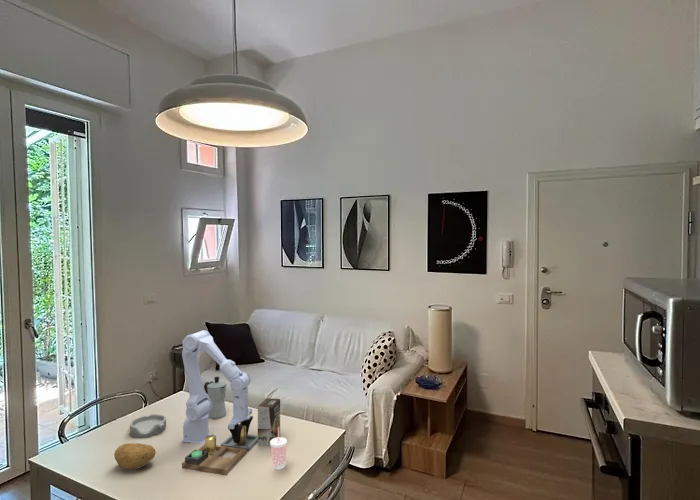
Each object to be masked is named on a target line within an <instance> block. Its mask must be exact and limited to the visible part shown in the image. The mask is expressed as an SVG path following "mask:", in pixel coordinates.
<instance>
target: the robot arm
mask: <svg viewBox="0 0 700 500" xmlns="http://www.w3.org/2000/svg"><path fill="white" fill-rule="evenodd" d="M181 342H182V351H181V357H182V362H183V366H184V367H183V368H184V372H185V377H186V384H187V389H188V394H189V397H188V399H187V401H186V406H185V407H186V409H185V417H186V418H185V419H184V421H183V425H182V434H183V438H182V441H181V442H182V443H188V444H189V443H190V444H191V443H194V444H201V445H202V444H205V437H206V436H209V435H214V434H213V433H209V432H210V427H209V426H210V425H209V421H210V420H209V419H210V418H209V411H210V410H211V409H212V402H211V400H210V399H209V396H208V394H207V393H206V392H205V389H204V385H203V380H202V374H201V371H200V366H199V365H200V364H199V361H198V360H199V358H198V353H200V352H201V353H205V352H206V353H207V354H208V355H209V356H210V357H211V358H212V360H213V361H214V362H216V363H217V365H219V371H220V372H221V374H222V375H223V376H224V377H225V378H226V379H227V381H228V382H229V387H230V390H231V391H232V401H233V402H232V407H233V408H232V409H233V410H232V418H231V420H230V422H229V423H228V426H227V429H228V431H229V432H230V434H231V435H232V437H233V441H234V443H239V442H240V436H241V430H242V428H243V426H239V425H238V424H246V436H247V435H249V430H250V426H251V423H252V421H253V419H254V416H253V415H252V413H253V409H252V408H249V385H250V384H251V377H250V375H249V374H248V373H247V372H245V371H242V370H241V369H240V368H239V367H238V366H237V365H236V362H235V361H233V360H232V359H227V358H226V356H225V355H224V354H223V352H222V351H221V350H220V348H219V347H218V345H217V344H216V343H215V341H214V337H213V336H212V335H211V334H210V332H209V331H207V330H205V329H202V330H199V331H197V332H195V333H192V334H191V333H190V334H188V335H186V336H185V337H184V338H183V339H182V341H181Z"/></svg>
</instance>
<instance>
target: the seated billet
mask: <svg viewBox="0 0 700 500" xmlns="http://www.w3.org/2000/svg"><path fill="white" fill-rule="evenodd" d="M204 444H205V451H208V455H212V456H213V455H214V454H215V453H216V452H217V450H216V445H217V435H215V434H213V435H212V434H210V435H209V436H206V437H205V442H204Z"/></svg>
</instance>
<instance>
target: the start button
mask: <svg viewBox="0 0 700 500" xmlns="http://www.w3.org/2000/svg"><path fill="white" fill-rule="evenodd" d="M196 450H197V451H194V450H193V451H194V452H193V451H191V452H192V454H191V458H200V457H201V456H202V451H200V450H198V449H196Z"/></svg>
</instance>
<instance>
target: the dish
mask: <svg viewBox="0 0 700 500" xmlns="http://www.w3.org/2000/svg"><path fill="white" fill-rule="evenodd" d="M166 427H167V418H166V416H165V415H164V414H159V413H158V414H155V413H151V414H150V415H143V416H139V417H136V418H134V419H133V420H131V422H130V423H129V432H130V435H131V436H132V437H134V438H141V439H142V438H149V437H153V436H156V435H159V434H161V433H163V432H164V431H165V430H166Z"/></svg>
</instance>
